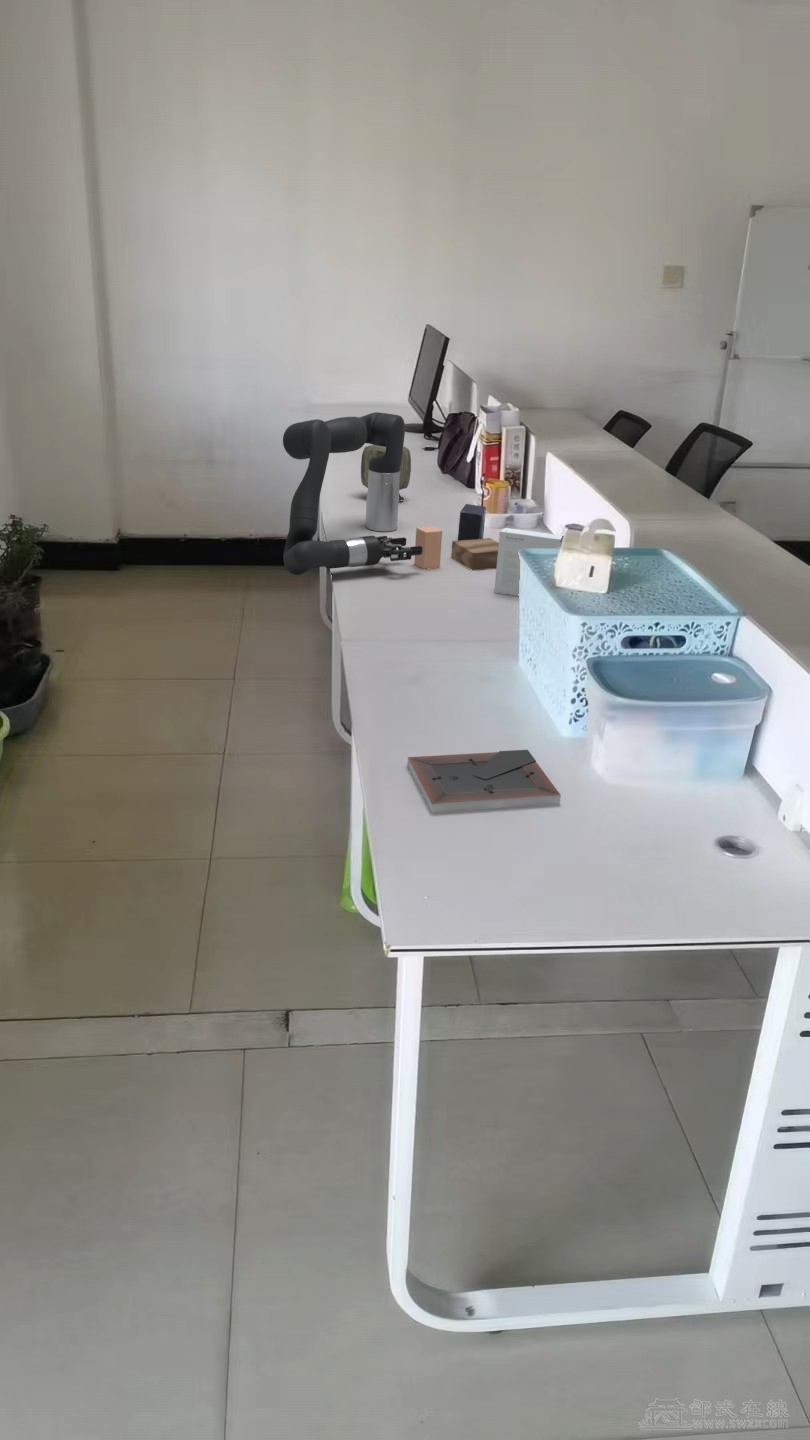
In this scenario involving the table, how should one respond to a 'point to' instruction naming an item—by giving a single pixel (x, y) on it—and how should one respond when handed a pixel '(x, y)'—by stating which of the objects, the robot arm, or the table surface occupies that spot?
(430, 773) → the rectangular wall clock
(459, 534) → the small box
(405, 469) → the tabletop clock
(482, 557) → the walnut block
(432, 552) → the terracotta pillar
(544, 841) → the table surface
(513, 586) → the skincare box
